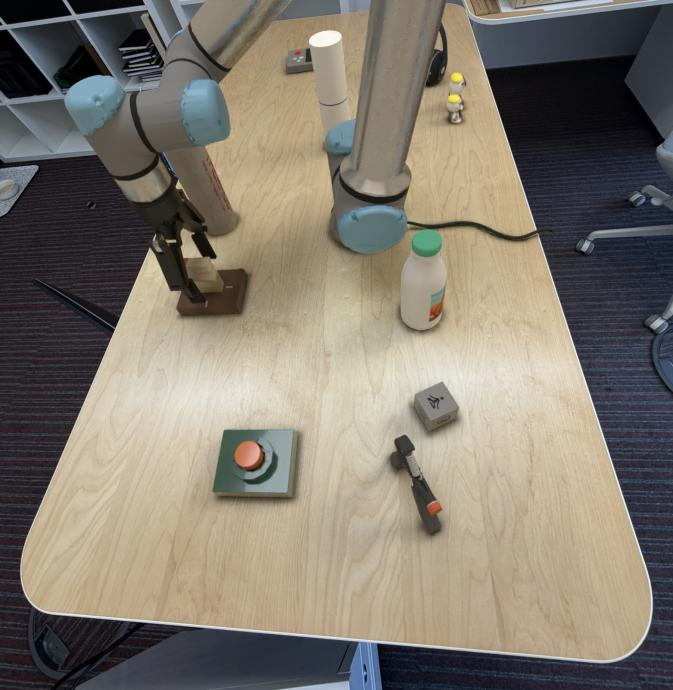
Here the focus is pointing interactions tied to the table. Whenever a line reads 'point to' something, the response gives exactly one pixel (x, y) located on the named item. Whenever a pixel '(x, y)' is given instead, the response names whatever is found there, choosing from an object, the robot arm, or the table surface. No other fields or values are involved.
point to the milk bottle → (423, 281)
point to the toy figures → (455, 97)
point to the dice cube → (435, 406)
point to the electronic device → (299, 60)
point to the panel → (218, 296)
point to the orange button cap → (249, 455)
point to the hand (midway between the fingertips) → (204, 279)
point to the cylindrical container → (330, 78)
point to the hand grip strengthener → (417, 484)
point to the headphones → (439, 60)
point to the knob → (204, 274)
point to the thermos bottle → (203, 188)
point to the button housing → (271, 473)
